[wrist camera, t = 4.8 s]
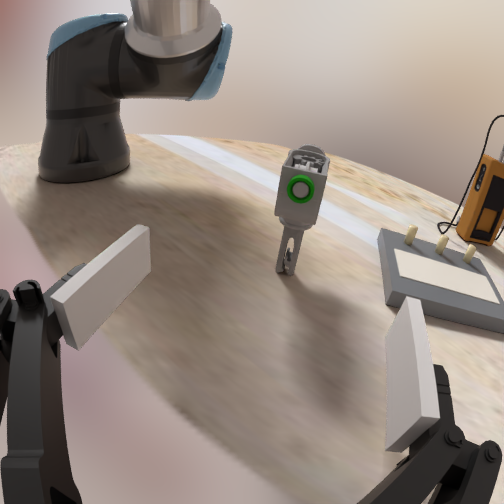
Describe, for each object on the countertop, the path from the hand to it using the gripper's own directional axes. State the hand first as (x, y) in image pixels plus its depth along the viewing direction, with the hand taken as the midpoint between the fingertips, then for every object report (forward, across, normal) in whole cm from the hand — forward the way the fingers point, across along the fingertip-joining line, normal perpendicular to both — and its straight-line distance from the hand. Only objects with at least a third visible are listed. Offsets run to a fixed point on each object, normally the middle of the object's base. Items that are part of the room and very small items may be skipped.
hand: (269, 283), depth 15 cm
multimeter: (+35, +26, -6) cm, 44 cm away
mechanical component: (+10, 0, -6) cm, 12 cm away
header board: (+15, +16, -6) cm, 23 cm away
